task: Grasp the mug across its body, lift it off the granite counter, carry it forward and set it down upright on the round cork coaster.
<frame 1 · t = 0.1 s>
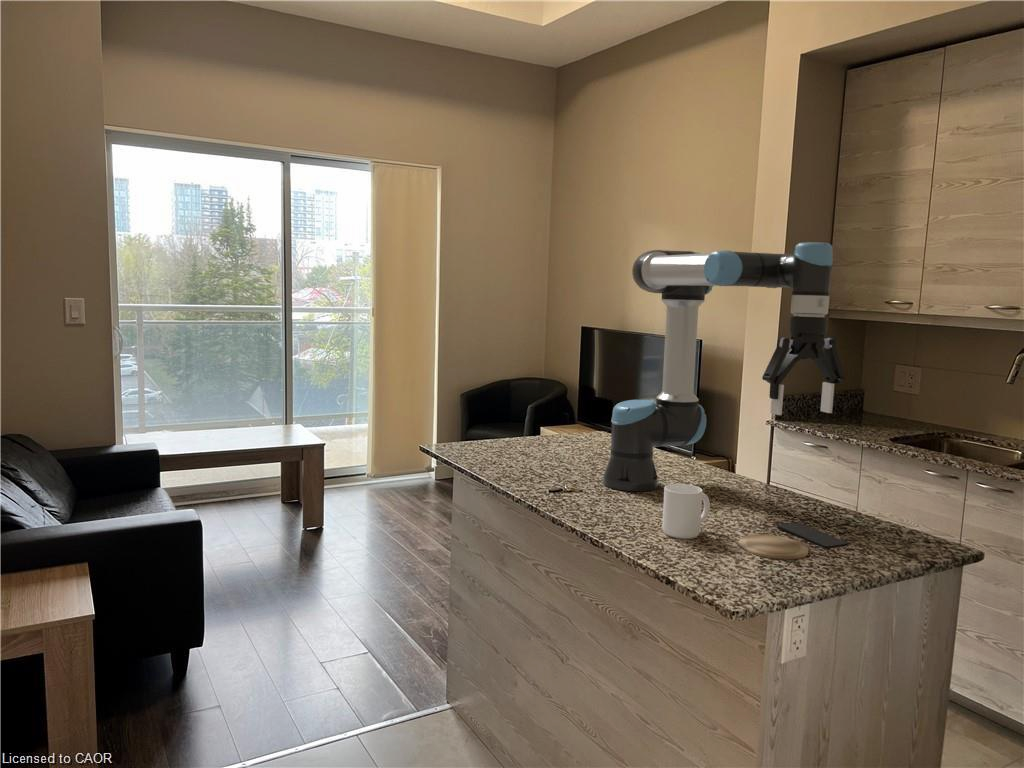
hand: (801, 413, 161), 28 cm above the counter, fingers open, 13 cm apart
mug: (687, 533, 166), on the counter
smartphone: (811, 538, 166), on the counter
coaster: (772, 547, 157), on the counter
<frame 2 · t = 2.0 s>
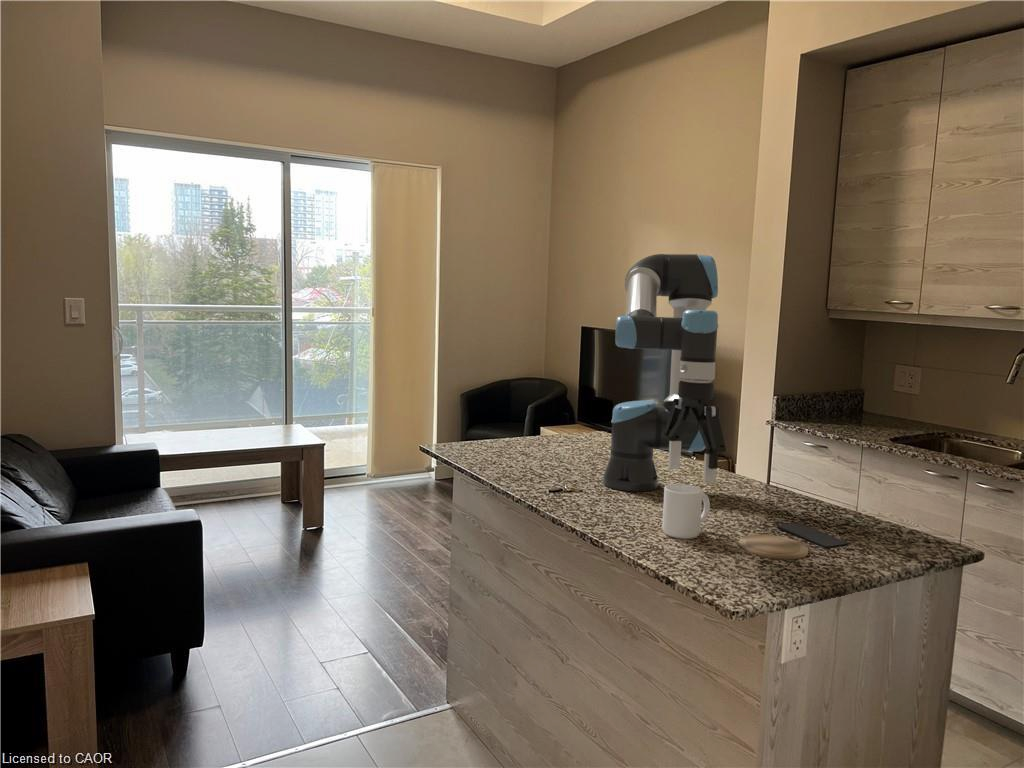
hand: (690, 475, 164), 13 cm above the counter, fingers open, 13 cm apart
nothing on the counter moved.
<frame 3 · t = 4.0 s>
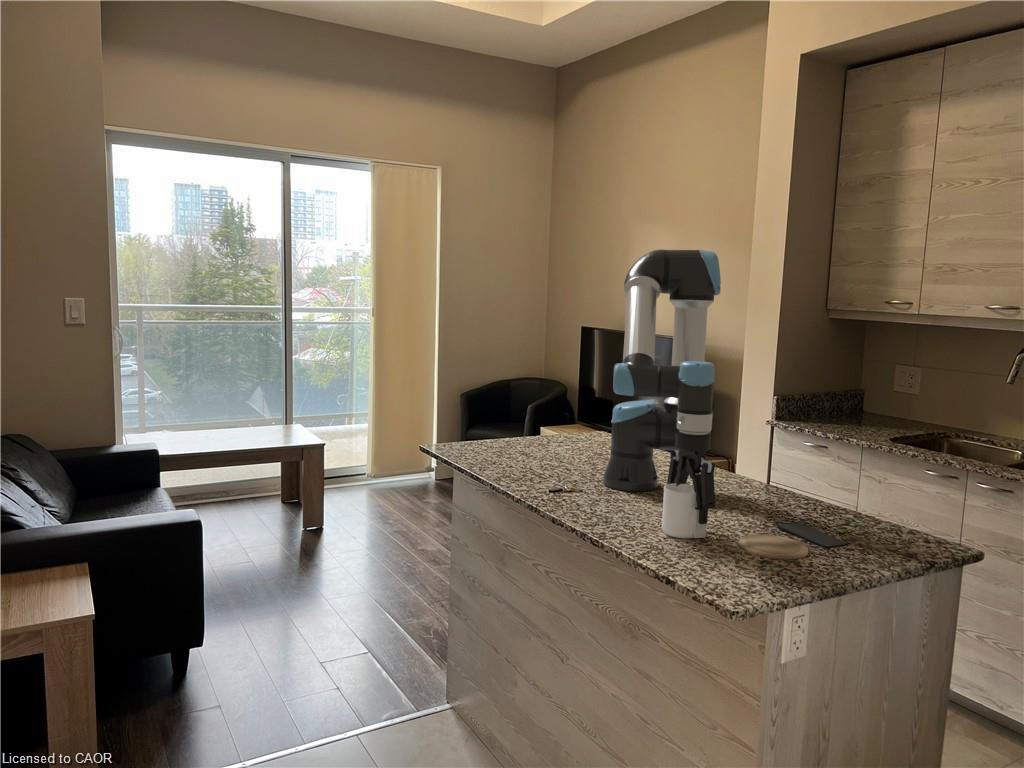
hand: (687, 530, 166), 0 cm above the counter, fingers closed on mug, 8 cm apart
mug: (687, 532, 166), on the counter, touching gripper
everything else where it was.
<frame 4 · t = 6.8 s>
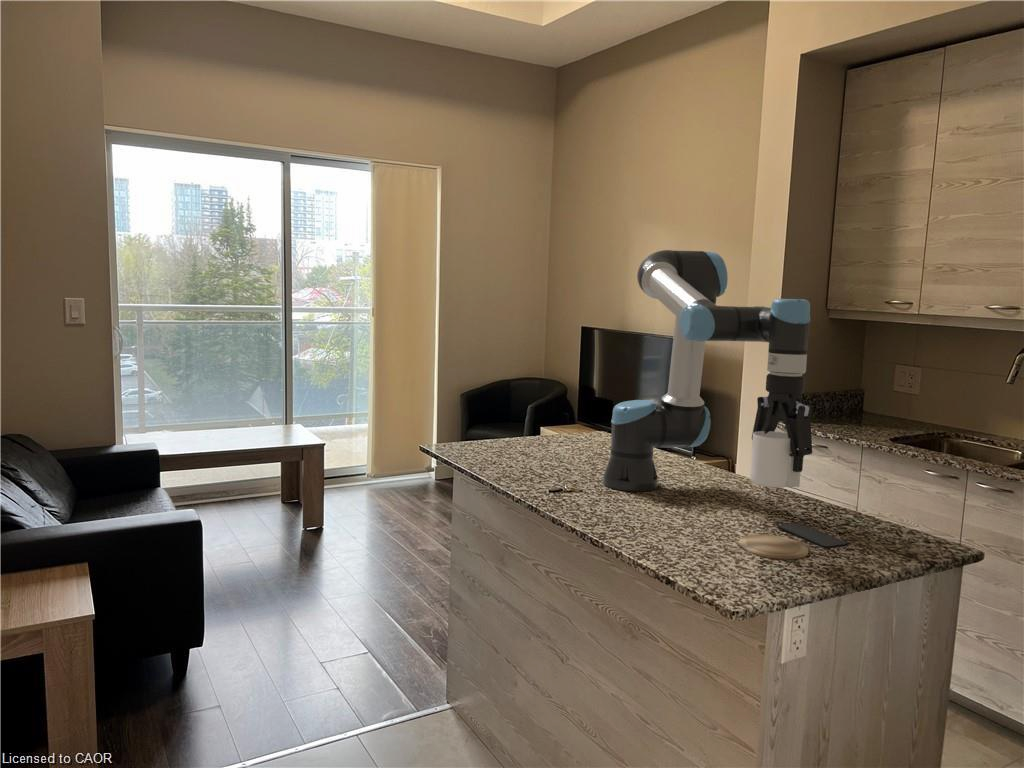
hand: (777, 480, 155), 15 cm above the counter, fingers closed on mug, 8 cm apart
mug: (776, 483, 156), point 14 cm above the counter, touching gripper
everything else where it was.
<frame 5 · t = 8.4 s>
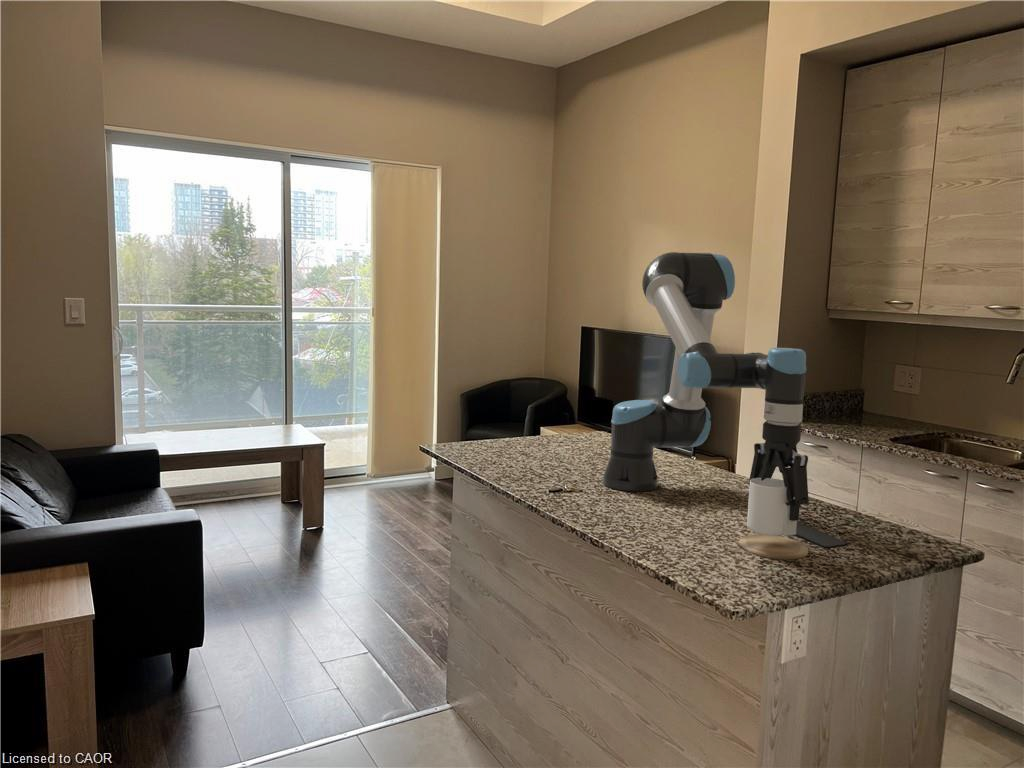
hand: (774, 527, 157), 4 cm above the counter, fingers closed on mug, 8 cm apart
mug: (773, 530, 157), point 4 cm above the counter, touching gripper
everything else where it was.
when the fingers open (2 cm above the counter, at t = 9.8 s): mug drops 1 cm, resting on coaster.
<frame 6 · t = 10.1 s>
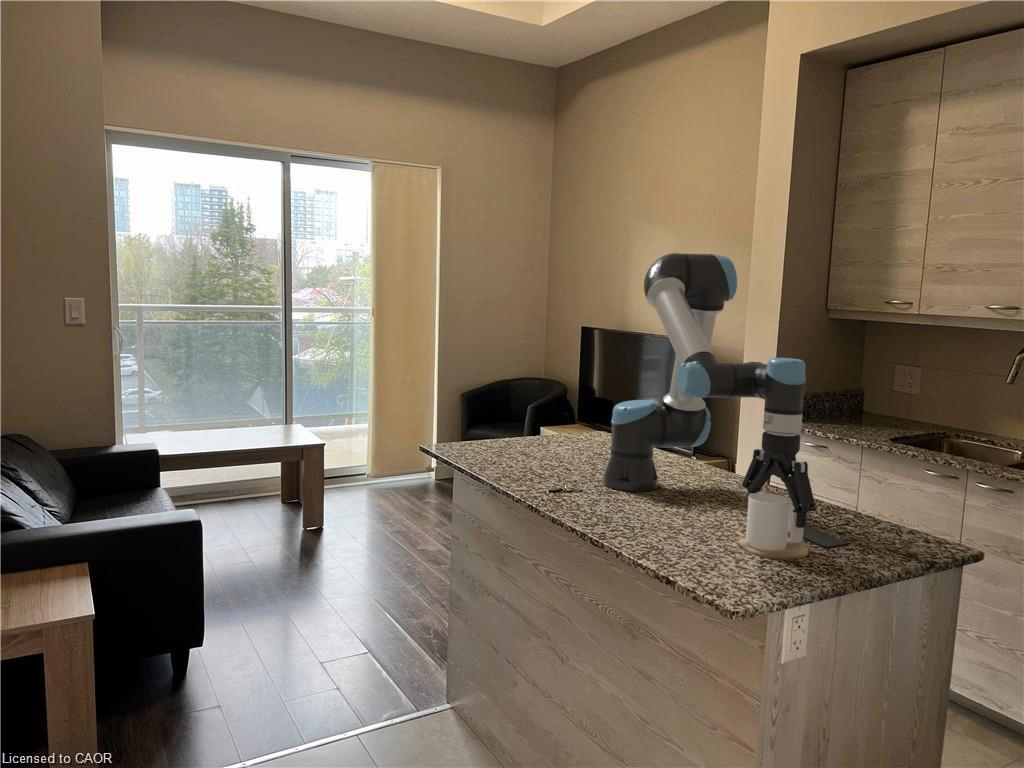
hand: (774, 531, 157), 4 cm above the counter, fingers open, 12 cm apart
mug: (772, 545, 157), point 1 cm above the counter, touching coaster
everything else where it was.
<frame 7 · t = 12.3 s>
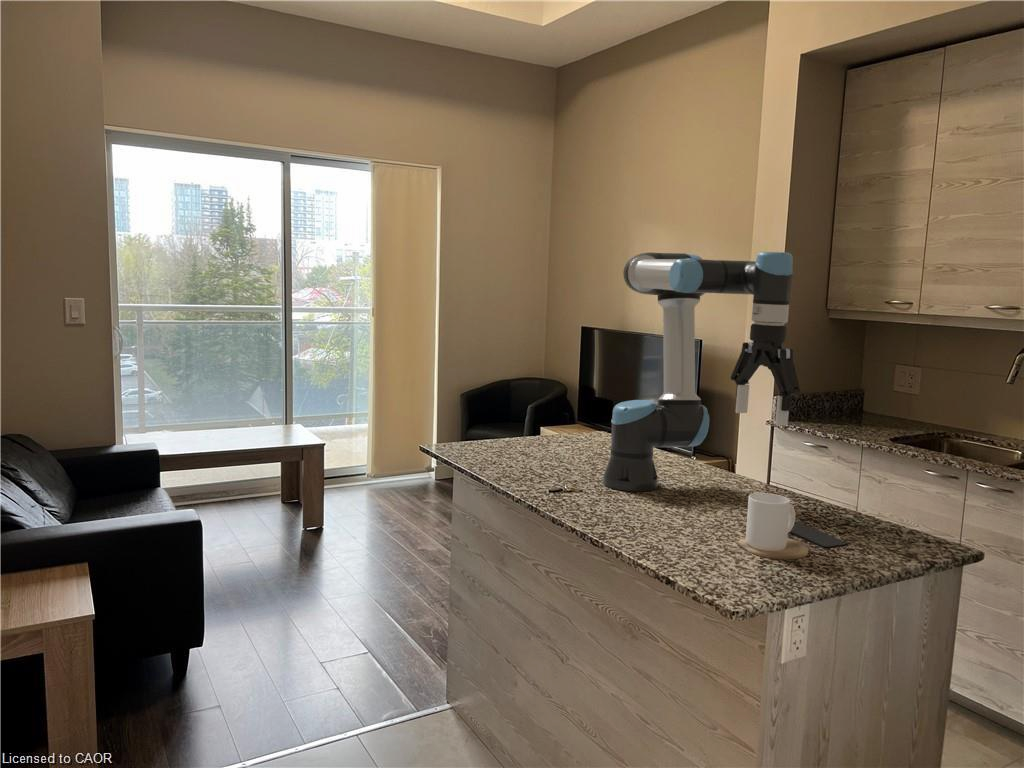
hand: (760, 418, 165), 26 cm above the counter, fingers open, 13 cm apart
nothing on the counter moved.
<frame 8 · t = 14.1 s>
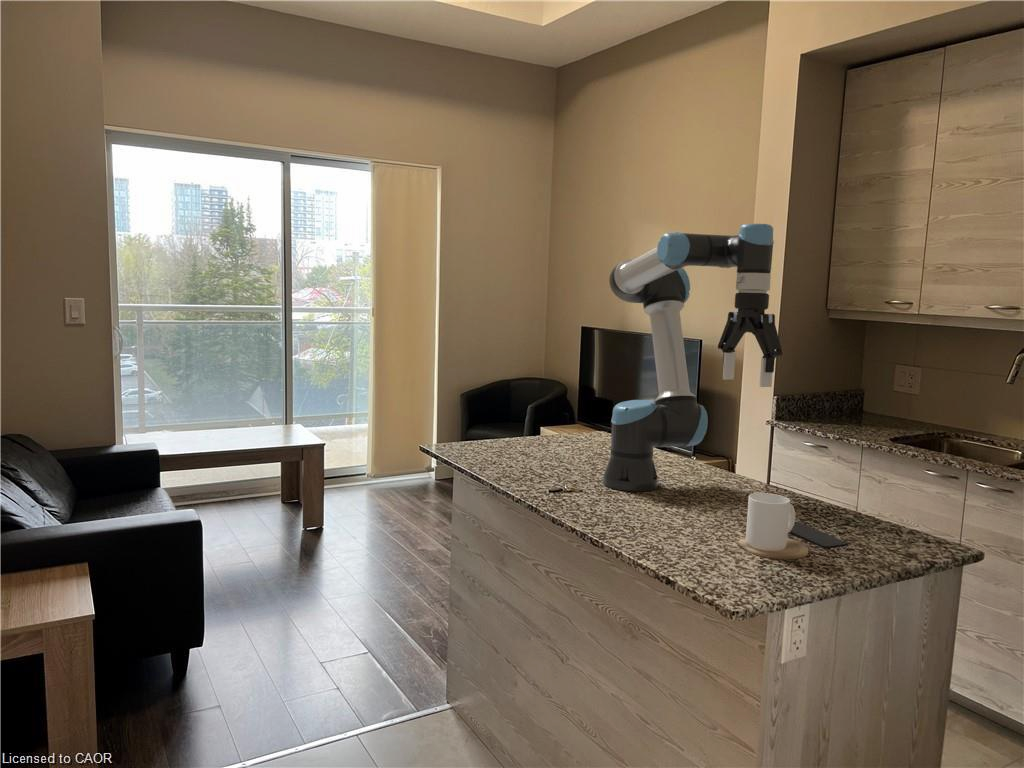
hand: (746, 383, 174), 33 cm above the counter, fingers open, 13 cm apart
nothing on the counter moved.
at the end: mug inside the target area on the coaster (0.2 cm from its centre), point 0.5 cm above the coaster's base; mug tilted 0°; the gripper is holding nothing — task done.
